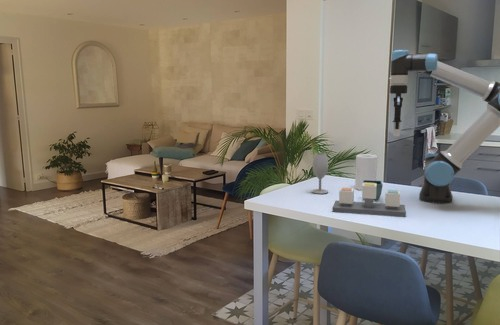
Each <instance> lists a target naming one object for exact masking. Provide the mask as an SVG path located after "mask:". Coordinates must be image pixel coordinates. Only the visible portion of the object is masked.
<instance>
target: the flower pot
mask: <svg viewBox="0 0 500 325" xmlns="http://www.w3.org/2000/svg"><path fill="white" fill-rule="evenodd" d="M365 182H367V183H377V188H376V199H373V202H378V201H379V200H380V198H381V195H382V192H383V191H382V190H383V181H381V180H376V181H371V180H363V183H365Z"/></svg>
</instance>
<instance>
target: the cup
mask: <svg viewBox="0 0 500 325" xmlns="http://www.w3.org/2000/svg"><path fill="white" fill-rule="evenodd" d="M377 169H378V156H377V155H376V154H369V153H363V154H362V153H361V154H357V155H356V156H355V176H354V178H355V182H354V184H355V185H354V188H355V189H356V190H358V191H362V185H363V180H371V181H377V175H378V174H377V173H378V172H377V171H378V170H377Z"/></svg>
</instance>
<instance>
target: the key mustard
mask: <svg viewBox="0 0 500 325" xmlns="http://www.w3.org/2000/svg"><path fill="white" fill-rule="evenodd" d="M376 188H377V183H367V182H365V183H363V185H362V190H361V199H365V198H369V199H376Z"/></svg>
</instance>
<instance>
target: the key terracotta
mask: <svg viewBox="0 0 500 325" xmlns="http://www.w3.org/2000/svg"><path fill="white" fill-rule="evenodd" d="M354 191H355V189H354V188H352V187H340V188H339V192H338V193H339V194H338V201H339V203H346V204H353V202H354V195H355V194H354V193H355V192H354Z"/></svg>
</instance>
